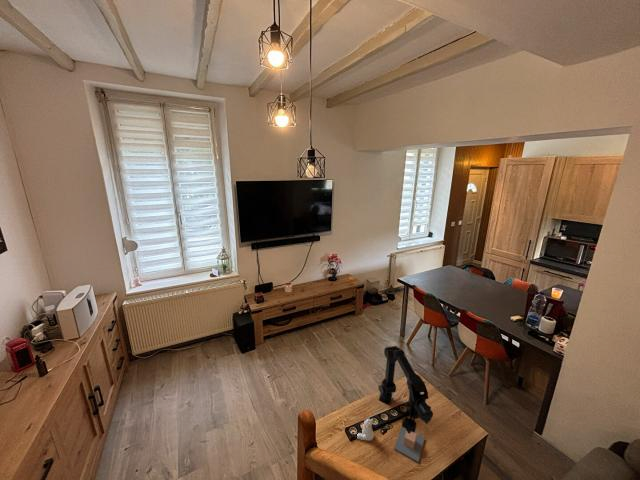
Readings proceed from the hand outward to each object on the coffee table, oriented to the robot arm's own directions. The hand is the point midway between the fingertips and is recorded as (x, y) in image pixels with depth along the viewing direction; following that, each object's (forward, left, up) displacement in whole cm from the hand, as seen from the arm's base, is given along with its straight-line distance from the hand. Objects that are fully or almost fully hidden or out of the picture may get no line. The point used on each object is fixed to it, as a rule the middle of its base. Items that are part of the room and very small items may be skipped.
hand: (411, 425), depth 136 cm
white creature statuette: (-21, -9, -12) cm, 25 cm away
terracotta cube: (0, -1, -11) cm, 11 cm away
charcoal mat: (0, -1, -12) cm, 12 cm away
